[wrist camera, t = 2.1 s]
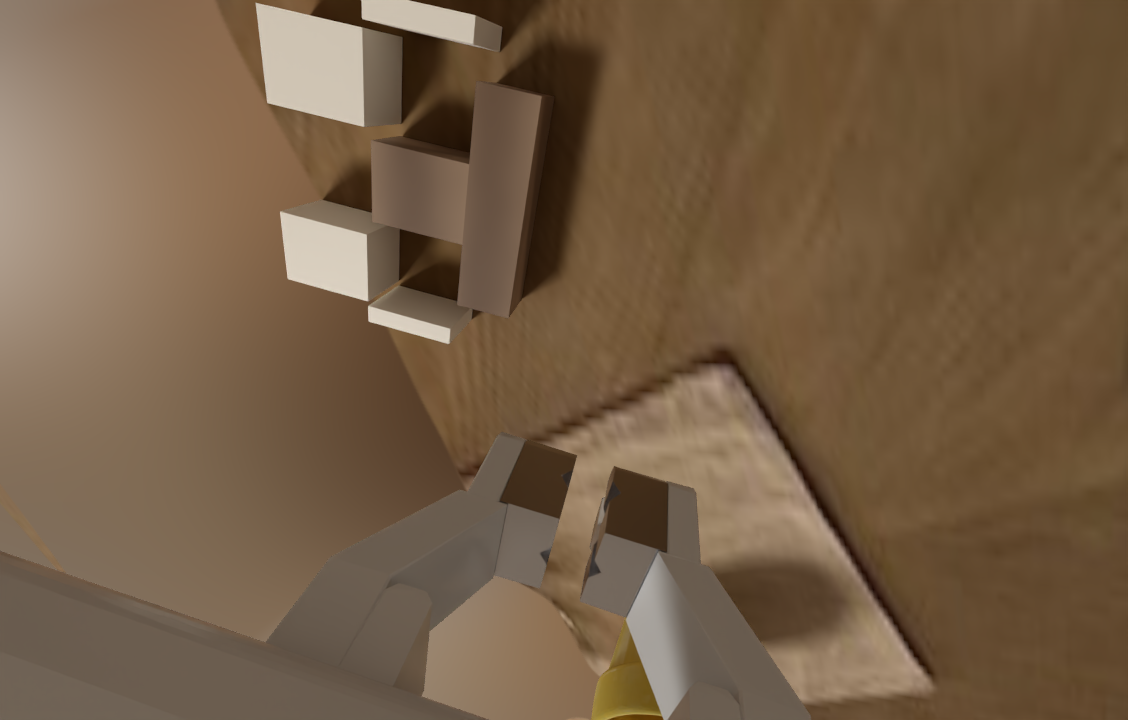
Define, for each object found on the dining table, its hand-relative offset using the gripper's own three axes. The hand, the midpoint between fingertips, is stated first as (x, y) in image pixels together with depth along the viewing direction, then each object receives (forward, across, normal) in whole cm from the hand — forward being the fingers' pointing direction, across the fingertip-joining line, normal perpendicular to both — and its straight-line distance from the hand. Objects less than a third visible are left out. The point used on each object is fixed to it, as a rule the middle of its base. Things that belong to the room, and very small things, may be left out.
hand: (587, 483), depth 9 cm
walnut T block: (+19, +9, 0) cm, 21 cm away
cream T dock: (+19, +14, 0) cm, 24 cm away
